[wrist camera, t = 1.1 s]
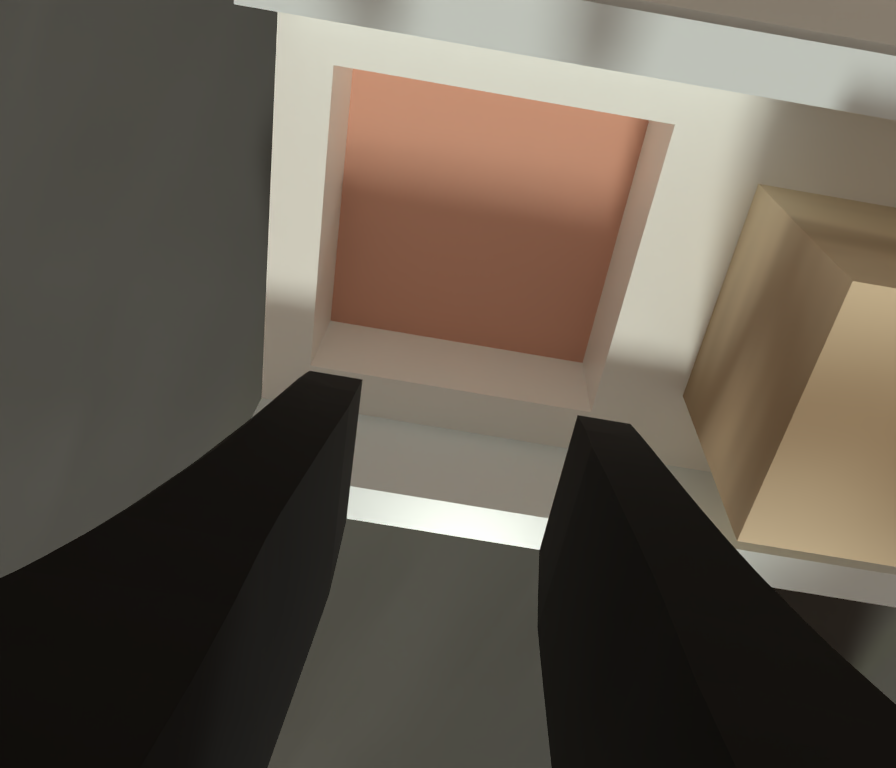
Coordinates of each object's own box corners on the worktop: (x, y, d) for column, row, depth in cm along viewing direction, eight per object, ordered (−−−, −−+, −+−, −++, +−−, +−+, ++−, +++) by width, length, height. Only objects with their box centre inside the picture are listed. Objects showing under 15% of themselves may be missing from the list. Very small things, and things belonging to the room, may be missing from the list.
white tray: (1128, 536, 21) (1293, 698, 16) (285, 397, 20) (225, 526, 16) (1466, 97, 15) (1852, 166, 11) (315, -109, 15) (235, -123, 10)
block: (894, 431, 17) (1012, 586, 13) (682, 396, 17) (736, 541, 13) (1002, 225, 14) (1187, 338, 10) (757, 183, 14) (853, 280, 10)
